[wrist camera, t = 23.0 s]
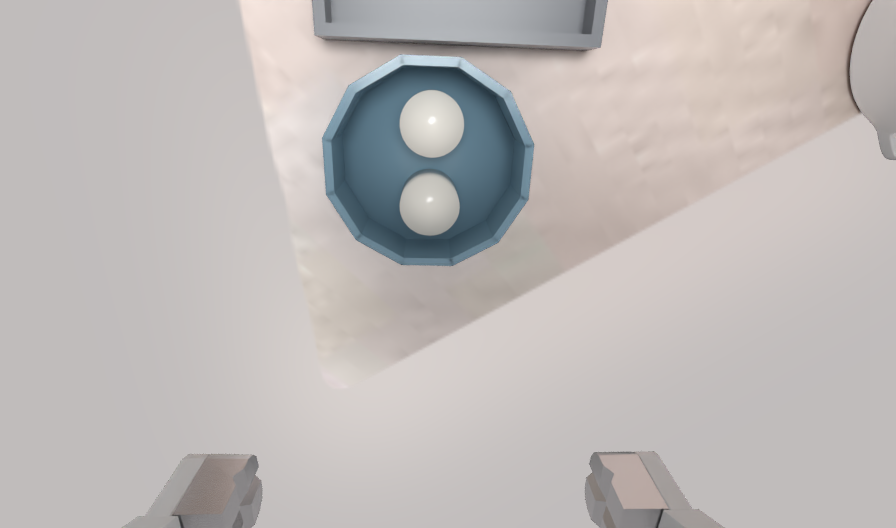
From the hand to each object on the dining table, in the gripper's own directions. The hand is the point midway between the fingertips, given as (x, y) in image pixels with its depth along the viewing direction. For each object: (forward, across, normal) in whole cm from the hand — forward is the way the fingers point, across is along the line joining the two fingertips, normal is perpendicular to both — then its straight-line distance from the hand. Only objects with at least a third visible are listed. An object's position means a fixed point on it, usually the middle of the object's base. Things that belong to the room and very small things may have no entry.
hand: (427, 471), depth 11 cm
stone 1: (+28, 0, -6) cm, 29 cm away
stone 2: (+28, 0, 0) cm, 28 cm away
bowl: (+29, 0, -3) cm, 29 cm away
